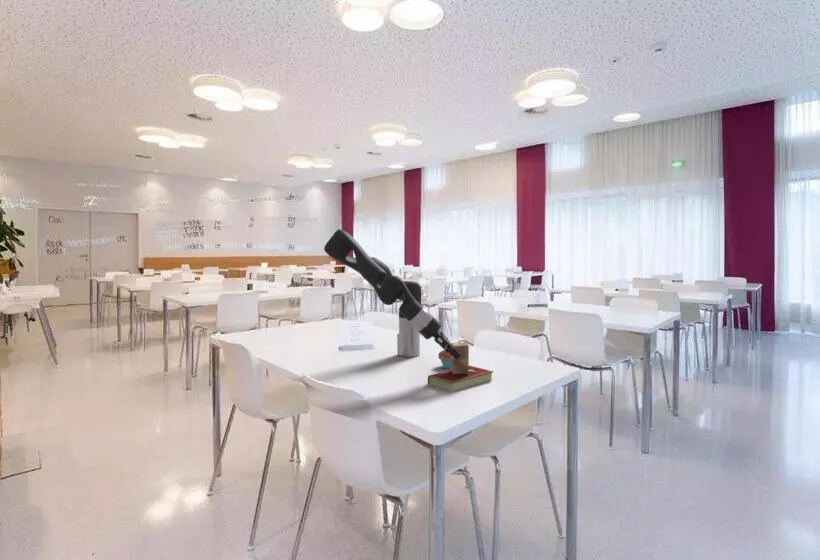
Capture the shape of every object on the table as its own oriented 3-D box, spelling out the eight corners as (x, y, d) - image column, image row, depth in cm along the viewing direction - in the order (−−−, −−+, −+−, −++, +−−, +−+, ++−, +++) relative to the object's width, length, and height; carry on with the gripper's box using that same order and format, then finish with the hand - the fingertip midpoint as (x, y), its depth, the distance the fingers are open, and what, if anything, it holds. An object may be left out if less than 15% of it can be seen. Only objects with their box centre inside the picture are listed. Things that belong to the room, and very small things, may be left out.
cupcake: (450, 370, 177) (450, 340, 176) (433, 367, 183) (433, 337, 182) (463, 366, 183) (463, 337, 182) (447, 363, 189) (446, 334, 188)
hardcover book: (427, 386, 159) (427, 374, 159) (468, 375, 173) (468, 364, 173) (452, 394, 150) (452, 381, 150) (493, 382, 164) (493, 370, 163)
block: (452, 374, 159) (453, 345, 159) (451, 370, 165) (451, 342, 164) (468, 373, 159) (468, 345, 159) (466, 369, 165) (466, 342, 164)
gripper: (416, 327, 168) (447, 357, 169) (418, 334, 154) (452, 367, 155) (430, 312, 168) (461, 343, 169) (434, 318, 154) (467, 351, 155)
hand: (457, 354), depth 162 cm, fingers open, 8 cm apart
